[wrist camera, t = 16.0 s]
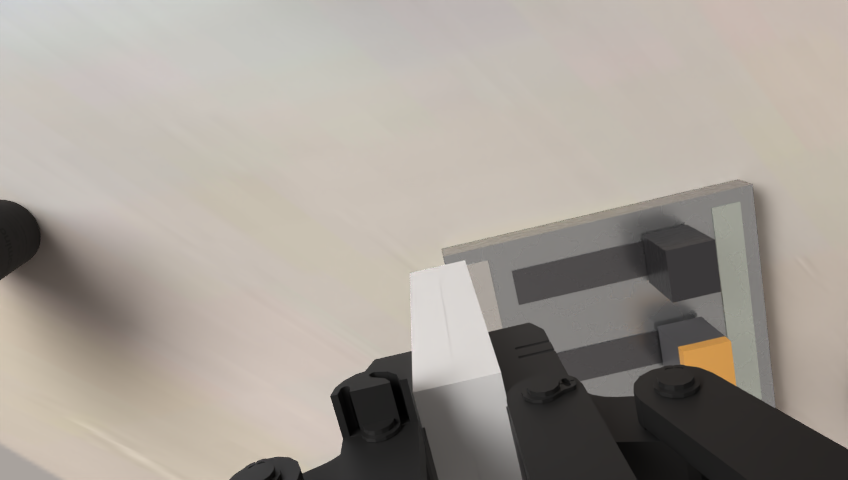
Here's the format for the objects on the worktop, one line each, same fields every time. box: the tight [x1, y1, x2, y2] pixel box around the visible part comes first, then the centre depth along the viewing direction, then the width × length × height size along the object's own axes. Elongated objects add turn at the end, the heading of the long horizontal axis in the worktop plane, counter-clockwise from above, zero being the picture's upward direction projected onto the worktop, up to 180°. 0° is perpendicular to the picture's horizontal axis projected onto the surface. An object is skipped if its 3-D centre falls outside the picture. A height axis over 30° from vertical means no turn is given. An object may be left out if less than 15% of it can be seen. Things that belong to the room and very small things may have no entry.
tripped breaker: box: [658, 317, 736, 386], centre depth 45 cm, size 4×3×4 cm
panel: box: [442, 180, 776, 408], centre depth 46 cm, size 21×22×6 cm
